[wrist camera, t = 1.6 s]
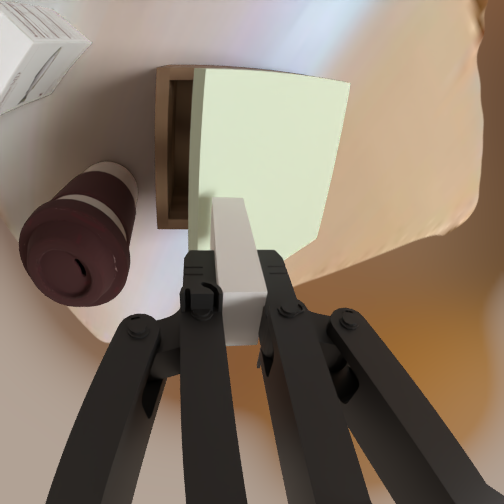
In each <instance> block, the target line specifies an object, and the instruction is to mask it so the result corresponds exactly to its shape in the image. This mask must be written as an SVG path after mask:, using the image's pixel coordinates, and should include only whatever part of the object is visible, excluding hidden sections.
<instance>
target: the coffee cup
mask: <svg viewBox="0 0 504 504" xmlns="http://www.w3.org/2000/svg"><path fill="white" fill-rule="evenodd" d="M137 198H138V188H137V184H136V181H135V179H134V177H133V176H132V174H131V173H130V172H129V171H128V170H127V169H126V168H125V167H123V166H121V165H119V164H117V163H114V162H100V163H96V164H94V165H92V166H90V167H89V168H88V169H86V170H85V171H84V172H83V173H82V174H80V175H78V176H77V177H75V178H74V179H73V180H71V181H70V182H69V183H68V184H67V185H66V186H65V187H64V188H63V189H62V190H61V191H60V192H59V193H58V194H57V195H56V196H55V197H54V198H53V199H52V200H51V201H49V202H47V203H45V204H43V205H41V206H40V207H38V208H37V209H36V210H35V211H34V212H33V213H32V215H31V216H30V217H29V218H28V220H27V221H26V222H25V224H24V226H23V228H22V230H21V233H20V238H19V251H20V257H21V260H22V263H23V265H24V268H25V270H26V271H27V273H28V275H29V276H30V277H31V279H32V281H33V282H34V284H35V285H36V286H37V288H38V289H39V290H40V291H41V292H42V293H43V294H45V296H47V297H49V298H50V299H52V300H54V301H55V302H57V303H60V304H63V305H66V306H73V307H91V306H98V305H101V304H104V303H107V302H109V301H110V300H112V299H114V298H115V297H116V296H117V295H118V294H119V293H120V292H121V290H122V289H123V287H124V285H125V283H126V280H127V276H128V272H129V268H130V252H129V245H130V240H131V235H132V230H133V225H134V220H135V215H136V203H137Z"/></svg>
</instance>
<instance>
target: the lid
mask: <svg viewBox="0 0 504 504" xmlns="http://www.w3.org/2000/svg"><path fill="white" fill-rule="evenodd" d="M350 84H351V83H348V82H344V81H339V80H333V79H327V78H321V77H315V76H308V75H300V74H292V73H284V72H274V71H262V70H248V69H227V68H194V79H193V93H192V109H191V128H190V152H189V194H188V251H190V250H210V231H211V209H212V197H229V198H243V199H244V203H245V207H246V211H247V215H248V218H249V222H250V226H251V230H252V234H253V238H254V242H255V245H256V249H257V250H275V251H276V252H277V253H278V254H279V255H280V256H281V257H282V258H283V260H285V259H287V258H288V257H290V256H291V255H293V254H294V253H296V252H297V251H299V250H300V249H302V248H303V247H305V246H306V245H308V244H309V243H311V242H312V241H314V240H315V239H317V235H318V231H319V227H320V223H321V219H322V215H323V211H324V207H325V203H326V199H327V194H328V190H329V186H330V182H331V177H332V173H333V168H334V164H335V159H336V155H337V150H338V145H339V141H340V136H341V131H342V126H343V121H344V116H345V111H346V106H347V100H348V95H349V90H350Z"/></svg>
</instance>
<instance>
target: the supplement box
mask: <svg viewBox="0 0 504 504" xmlns="http://www.w3.org/2000/svg"><path fill="white" fill-rule="evenodd" d="M91 44H92V42H91V41H90V40H88V39H87V38H86V37H85V36H84V35H83V34H82V33H80V32H79V31H78V30H77V29H76V28H75V27H73V26H72V25H71V24H70V23H69V22H68V21H66V20H65V19H64V18H63V17H62V16H61V15H59V14H58V13H57V12H56V11H55V10H53V9H49V8H44V7H40V6H35V5H29V4H22V3H15V2H7V1H0V115H2V114H4V113H6V112H8V111H11V110H13V109H15V108H17V107H20V106H22V105H25V104H27V103H30V102H32V101H35V100H37V99H40V98H43V97H45V96H48V95H51V94H52V92H53V91H54V89H55V88H56V86H57V85H58V83H59V82H60V80H61V79H62V78H63V76H64V75H65V74H66V73H67V71H68V70H69V69H70V68H71V66H72V65H73V64H74V63H75V62H76V60H77V59H78V58H79V57H80V56H81V55H82V54H83V52H84V51H85V50H86V49H87V48H88V47H89V46H90V45H91Z"/></svg>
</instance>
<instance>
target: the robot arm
mask: <svg viewBox="0 0 504 504" xmlns="http://www.w3.org/2000/svg"><path fill="white" fill-rule="evenodd" d="M258 338H259V340H260V345H261V348H260V353H259V357H258V362H257V368H260V365H261V368H262V374H263V379H264V384H265V389H266V394H267V399H268V404H269V410H270V415H271V420H272V425H273V430H274V435H275V440H276V445H277V450H278V455H279V460H280V465H281V470H282V475H283V480H284V485H285V490H286V495H287V499H288V504H372V503H371V501H370V498H369V494H368V491H367V488H366V484H365V481H364V478H363V474H362V471H361V468H360V465H359V461H358V458H357V455H356V452H355V449H354V445H353V442H352V439H351V436H350V433H349V430H348V428H349V429H350V431H351V432H352V434H353V436H354V437H355V439H356V440H357V442H358V444H359V445H360V447H361V449H362V450H363V452H364V453H365V455H366V457H367V458H368V460H369V461H370V463H371V465H372V466H373V468H374V469H375V471H376V473H377V474H378V476H379V477H380V479H381V481H382V482H383V484H384V485H385V487H386V489H387V490H388V492H389V493H390V495H391V497H392V498H393V500H394V501H395V503H396V504H504V496H503V495H502V494H500V493H499V492H497V491H496V490H494V489H493V488H491V487H490V486H488V485H487V484H486V483H485V481H484V479H483V478H482V476H481V475H480V473H479V472H478V470H477V469H476V467H475V466H474V464H473V463H472V462H471V460H470V459H469V457H468V456H467V454H466V453H465V451H464V450H463V449H462V447H461V446H460V444H459V443H458V441H457V440H456V439H455V437H454V436H453V434H452V433H451V431H450V430H449V429H448V427H447V426H446V424H445V423H444V422H443V420H442V419H441V418H440V416H439V415H438V413H437V412H436V410H435V409H434V408H433V406H432V405H431V404H430V402H429V401H428V400H427V398H426V397H425V396H424V394H423V393H422V392H421V390H420V389H419V388H418V386H417V385H416V384H415V382H414V381H413V380H412V378H411V377H410V376H409V374H408V373H407V372H406V370H405V369H404V368H403V366H402V365H401V364H400V363H399V362H398V360H397V359H396V358H395V356H394V355H393V354H392V352H391V351H390V350H389V349H388V347H387V346H386V345H385V343H384V342H383V341H382V340H381V338H380V337H379V336H378V334H377V333H376V332H375V331H374V329H373V328H372V327H371V326H370V325H369V323H368V322H367V321H366V320H365V318H364V317H363V316H362V315H361V314H360V313H359V312H357V311H355V310H353V309H349V308H339V309H337V310H335V311H334V312H333V313H332V315H331V316H327V315H322V314H317V313H313V312H311V311H309V310H308V309H307V308H306V306H305V305H304V304H303V303H302V302H301V301H300V300H298V299H297V298H296V295H295V293H294V289H293V287H292V284H291V281H290V278H289V275H288V272H287V269H286V267H285V264H284V261H283V258H282V257H281V256H280V255H279V254H278V253H277V252H276V251H275V250H257V249H256V245H255V242H254V238H253V234H252V230H251V226H250V222H249V218H248V215H247V211H246V207H245V203H244V199H243V198H229V197H212V209H211V231H210V250H190V251H189V252H188V253H187V255H186V256H185V258H184V276H183V287H182V288H181V291H180V309H179V310H178V311H177V312H176V313H175V314H174V315H172V316H170V317H167V318H164V319H161V320H157V321H156V320H155V319H154V318H153V317H151V316H149V315H146V314H134V315H130V316H128V317H127V318H125V319H123V321H122V322H121V323H120V324H119V326H118V328H117V330H116V332H115V334H114V336H113V338H112V340H111V342H110V345H109V347H108V349H107V351H106V353H105V355H104V357H103V359H102V361H101V363H100V366H99V368H98V370H97V372H96V375H95V376H94V379H93V381H92V383H91V385H90V388H89V390H88V392H87V395H86V397H85V399H84V401H83V404H82V406H81V409H80V411H79V413H78V416H77V418H76V420H75V423H74V426H73V428H72V430H71V433H70V435H69V438H68V441H67V443H66V446H65V449H64V451H63V454H62V456H61V459H60V462H59V465H58V468H57V471H56V474H55V476H54V479H53V482H52V485H51V488H50V491H49V494H48V497H47V501H46V504H131V503H132V500H133V495H134V492H135V488H136V484H137V480H138V477H139V473H140V469H141V466H142V462H143V458H144V455H145V451H146V448H147V444H148V440H149V437H150V434H151V430H152V427H153V423H154V420H155V417H156V413H157V410H158V406H159V403H160V400H161V397H162V393H163V390H164V387H165V384H166V380H167V377H171V376H174V375H178V374H180V394H181V426H182V427H181V429H182V450H183V468H184V480H185V481H184V482H185V493H186V504H247V498H246V492H245V486H244V479H243V472H242V466H241V460H240V453H239V446H238V438H237V431H236V424H235V417H234V409H233V401H232V394H231V386H230V377H229V369H228V361H227V353H226V346H238V345H257V343H258Z"/></svg>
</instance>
